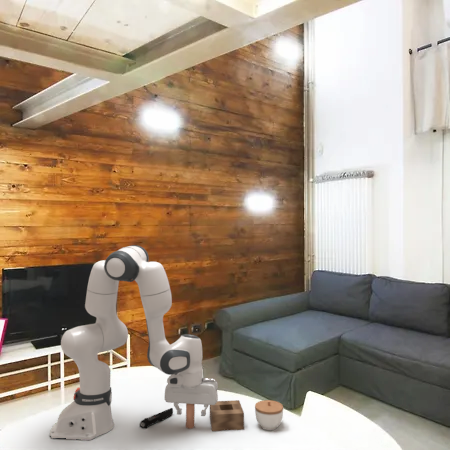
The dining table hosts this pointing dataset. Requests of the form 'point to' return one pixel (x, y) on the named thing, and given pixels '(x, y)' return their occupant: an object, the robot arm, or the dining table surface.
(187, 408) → the peg
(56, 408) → the dining table surface
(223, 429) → the socket block
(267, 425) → the lidded jar
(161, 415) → the electric trimmer
